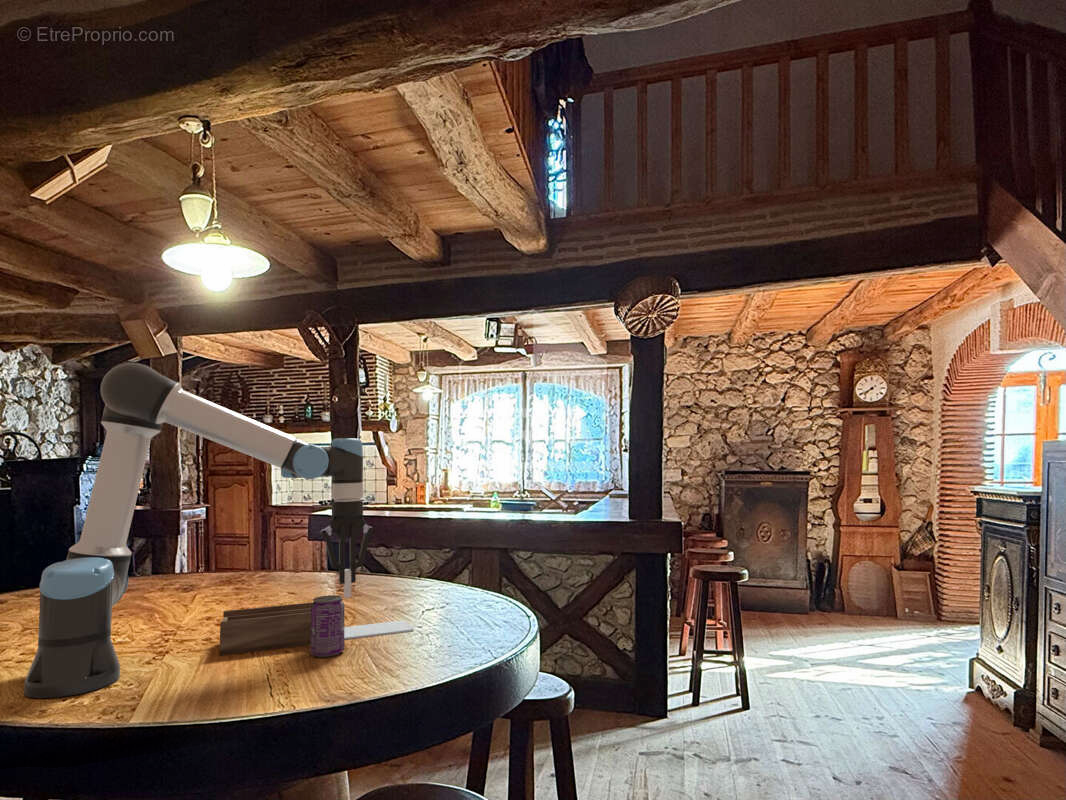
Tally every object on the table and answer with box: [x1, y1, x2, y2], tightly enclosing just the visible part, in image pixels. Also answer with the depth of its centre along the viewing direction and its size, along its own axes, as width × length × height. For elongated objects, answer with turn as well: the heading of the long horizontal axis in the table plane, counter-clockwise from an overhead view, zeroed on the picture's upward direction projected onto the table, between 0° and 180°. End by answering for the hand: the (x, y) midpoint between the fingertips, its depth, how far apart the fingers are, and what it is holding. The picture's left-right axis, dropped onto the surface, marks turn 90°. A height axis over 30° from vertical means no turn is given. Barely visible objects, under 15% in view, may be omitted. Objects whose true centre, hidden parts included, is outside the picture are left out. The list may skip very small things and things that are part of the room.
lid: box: [344, 619, 414, 641], centre depth 161 cm, size 11×21×4 cm, turn 113°
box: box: [219, 601, 314, 657], centre depth 153 cm, size 12×22×7 cm, turn 112°
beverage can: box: [310, 594, 345, 658], centre depth 143 cm, size 7×7×12 cm
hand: (347, 596), depth 160 cm, fingers closed
